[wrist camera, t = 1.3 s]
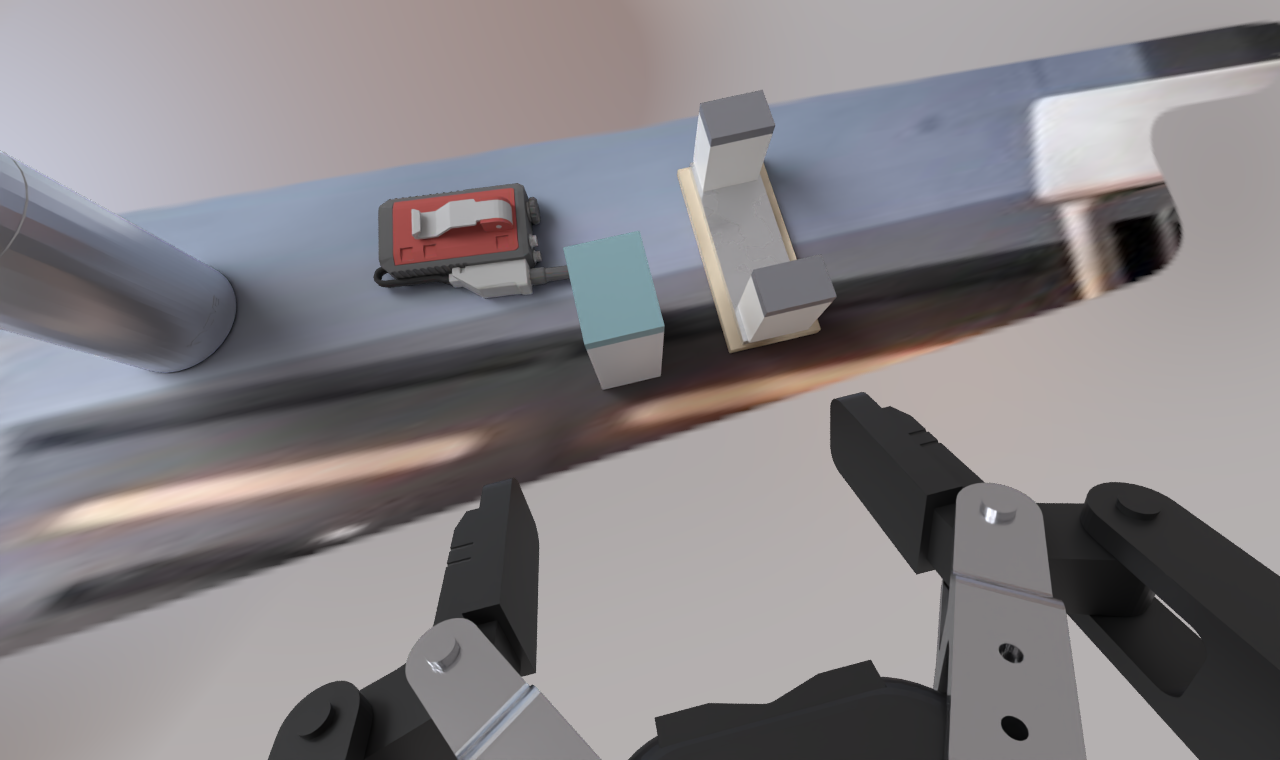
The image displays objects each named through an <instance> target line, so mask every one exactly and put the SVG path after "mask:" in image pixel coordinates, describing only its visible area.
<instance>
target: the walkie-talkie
mask: <svg viewBox="0 0 1280 760" xmlns="http://www.w3.org/2000/svg"><path fill="white" fill-rule="evenodd" d="M378 222H379V262H380V266H381V267H380V268H378V269H377V270H376V271H375V274H374V281H375V282H376V283H377V284H378V285H379V286H381V287H387V288H391V287H399V286H407V285H415V284H423V283H431V282H443V283H446V284H452V285H453V287H454V288H456V287H464V288H466V289H468V290H470V291H472V292H474V293H475V294H477V295H479V296H481V297H483V298H491V297H499V296H507V295H515V294H523V295H530V294H533V288H532V285H539V284H546V283H547V282H548V281H556V280H564V279H570V277H569V272H568V267H567V266H559V267H551V268H545V267H539V268H533V267H535V264H537V262H540V261H542V257H541V253H540V251H535V250H534V247H535V246H538V240H537V237H536V235H535V236H533V232H532V223H533V224H534V225H537V224H539V223H540V212H539V207H538V203H537V200H536V198H534V197H531V198H529V199H528V196H527V194H526V191H525V189H524V186H523V185H521V184H518V183H516V184H507V185H499V186H491V187H483V188H475V189H467V190H463V191H456V192H452V191H451V192H449V193H445V192H443V193H441V194H438V193H436V194H433V195H432V194H429V195H422V196H415V197H408V198H404V197H403V198H401V199H397V198H395V199H393V200H391V199H389V200H388V201H386V202H385V203H383V204H382V205H381V206H380V207H379V211H378ZM386 273H389V274H390V275H391V276H392V277H393V278H394V279H396V280H389V281H383V280H381V279H382V276H383V275H384V274H386Z"/></svg>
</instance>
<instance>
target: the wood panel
mask: <svg viewBox="0 0 1280 760" xmlns="http://www.w3.org/2000/svg"><path fill="white" fill-rule="evenodd" d="M760 175H761V178H762V181H763V184H764V187H765V190H766V193H767V196H768V199H769V202H770V205H771V207H772V210H773V213H774V216H775V219H776V222H777V225H778V228H779V231H780V234H781V237H782V240H783V243H784V246H785V249H786V252H787V255H788V258H789V260H790V261H793V260H797V259H796V256H795V253H794V250H793V247H792V244H791V241H790V238H789V235H788V232H787V230H786V227H785V224H784V221H783V218H782V215H781V212H780V209H779V206H778V203H777V200H776V198H775V195H774V192H773V189H772V186H771V183H770V180H769V177H768V174H767V171H766V168H765V166H764V163H763V164H762V168H761V171H760ZM677 177H678V180H679V183H680V187H681V190H682V194H683V197H684V201H685V204H686V207H687V211H688V214H689V218H690V221H691V224H692V228H693V231H694V235H695V238H696V241H697V245H698V248H699V252H700V255H701V259H702V262H703V265H704V269H705V272H706V276H707V279H708V282H709V286H710V289H711V293H712V296H713V299H714V303H715V306H716V310H717V313H718V317H719V320H720V323H721V327H722V330H723V334H724V337H725V340H726V344H727V347H728V351H729V353H733V352H738V351H742V350H746V349H750V348H755V347H759V346H763V345H768V344H772V343H776V342H780V341H785V340H789V339H793V338H797V337H802V336H806V335H810V334H815V333H818V332H819V331H820V330H821V328H820V325H819V323H818V320H816V321H815V322H814V323H813V324H812V326H811V327H810V328H809V330H804V331H800V332H796V333H791V334H787V335H783V336H779V337H774V338H770V339H766V340H761V341H757V342H753V343H749V344H744V345H742V344H741V341H740V337H739V334H738V331H737V327H736V324H735V321H734V318H733V314H732V311H731V308H730V304H729V301H728V298H727V294H726V291H725V288H724V284H723V281H722V278H721V274H720V271H719V268H718V264H717V261H716V258H715V254H714V251H713V248H712V244H711V241H710V238H709V234H708V231H707V228H706V224H705V221H704V218H703V214H702V211H701V208H700V204H699V201H698V198H697V195H696V191H695V188H694V185H693V181H692V178H691V175H690V171H689V168H684V169H679V170H678V173H677Z"/></svg>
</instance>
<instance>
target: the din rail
mask: <svg viewBox="0 0 1280 760" xmlns="http://www.w3.org/2000/svg"><path fill="white" fill-rule="evenodd" d="M689 171H690V175H691V178H692V181H693V185H694V188H695V191H696V195H697V198H698V201H699V204H700V208H701V211H702V214H703V218H704V221H705V224H706V228H707V231H708V234H709V238H710V241H711V244H712V248H713V251H714V254H715V258H716V261H717V264H718V268H719V271H720V274H721V278H722V281H723V284H724V288H725V291H726V294H727V298H728V301H729V304H730V308H731V311H732V314H733V318H734V321H735V324H736V327H737V331H738V334H739V337H740V341H741V344H742V345H744V344H749V341H748V338H747V335H746V332H745V328H744V325H743V322H742V318H741V315H740V312H739V309H738V304H739V302H740V300H741V297H742V295H743V293H744V290H745V288H746V286H747V283H748V281H749V279H750V276H751V274H752V272H753V270H754V269H758V268H763V267H767V266H771V265H776V264H780V263H785V262H789V261H790V260H789V258H788V255H787V252H786V249H785V246H784V243H783V240H782V237H781V234H780V231H779V228H778V225H777V222H776V219H775V216H774V213H773V210H772V207H771V205H770V202H769V199H768V196H767V193H766V190H765V187H764V184H763V181H762V178H761V175H760V174H759V177H758V180H754V181H750V182H745V183H741V184H736V185H732V186H727V187H723V188H718V189H714V190H709V191H705V192H703V190H702V187H701V184H700V181H699V177H698V174H697V171H696V167H695V164H694V162H693V163H690V165H689ZM811 326H812V325H811ZM808 330H809V329H808ZM803 331H804V330H803ZM799 332H800V331H799ZM795 333H796V332H795ZM790 334H791V333H790ZM786 335H787V334H786ZM782 336H783V335H782ZM778 337H779V336H778ZM773 338H774V337H773ZM769 339H770V338H769ZM765 340H766V339H765ZM760 341H761V340H760ZM756 342H757V341H756ZM752 343H753V342H752Z"/></svg>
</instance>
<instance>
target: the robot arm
mask: <svg viewBox="0 0 1280 760" xmlns="http://www.w3.org/2000/svg"><path fill="white" fill-rule="evenodd" d="M235 313H236V297H235V294H234V291H233V288H232V286H231V284H230V283H229V281H228V280H227V278H226V277H224V276H223V275H222V274H221V273H220V272H219V271H217V270H215V269H213V268H212V267H210V266H208V265H206V264H204V263H203V262H201V261H199V260H197V259H196V258H194V257H192V256H190V255H188V254H187V253H185V252H183V251H181V250H179V249H178V248H176V247H174V246H173V245H171V244H169V243H167V242H166V241H164V240H162V239H160V238H158V237H156V236H155V235H153V234H151V233H149V232H147V231H146V230H144V229H142V228H140V227H138V226H137V225H135V224H133V223H131V222H129V221H128V220H126V219H124V218H122V217H120V216H118V215H117V214H115V213H113V212H111V211H109V210H107V209H106V208H104V207H102V206H100V205H99V204H97V203H95V202H93V201H91V200H89V199H88V198H86V197H84V196H82V195H80V194H79V193H77V192H75V191H73V190H71V189H70V188H68V187H66V186H64V185H62V184H61V183H59V182H57V181H55V180H53V179H51V178H50V177H48V176H46V175H44V174H42V173H40V172H39V171H37V170H35V169H33V168H32V167H30V166H28V165H26V164H24V163H23V162H21V161H19V160H17V159H15V158H13V157H12V156H10V155H8V154H6V153H4V152H2V151H0V329H2V330H6V331H9V332H13V333H16V334H20V335H24V336H27V337H31V338H34V339H38V340H42V341H45V342H49V343H52V344H56V345H60V346H63V347H67V348H70V349H74V350H78V351H81V352H85V353H88V354H92V355H95V356H99V357H102V358H106V359H109V360H113V361H117V362H120V363H124V364H128V365H131V366H135V367H139V368H142V369H146V370H149V371H153V372H163V373H167V372H176V371H180V370H184V369H187V368H190V367H192V366H194V365H196V364H198V363H200V362H202V361H203V360H205V359H206V358H207V357H208V356H210V355H211V354H212V353H214V352H215V350H216V349H217V348H218V347H219V346H220V345H221V344H222V343H223V341H224V340H225V338H226V337H227V335H228V334H229V332H230V329H231V327H232V324H233V322H234V318H235ZM830 407H831V408H830V416H831V417H830V447H831V448H830V449H831V454H832V458H833V461H834V464H835V466H836V468H837V470H838V471H839V473H840V474H841V475H842V476H843V478H844V479H845V481H846V482H847V483H848V485H849V486H850V487H851V488H852V490H853V491H854V492H855V494H856V495H857V496H858V498H859V499H860V500H861V502H862V503H863V504H864V506H865V507H866V508H867V510H868V511H869V512H870V514H871V515H872V516H873V518H874V519H875V520H876V521H877V523H878V524H879V525H880V527H881V528H882V530H883V531H884V532H885V534H886V535H887V536H888V537H889V539H890V540H891V541H892V543H893V544H894V545H895V547H896V548H897V549H898V551H899V552H900V553H901V555H902V556H903V557H904V559H905V560H906V561H907V563H908V564H909V565H910V567H911V568H912V569H913V570H914V572H915V573H916V574H920V573H924V572H928V571H932V570H936V571H937V572H938V574H939V575H940V576H941V577H942V579H943V580H942V585H941V597H940V612H939V627H938V642H937V658H936V669H935V677H934V685H933V689H932V688H929V687H926V686H924V685H921V684H918V683H914V682H911V681H907V680H903V679H897V678H889V677H880V675H879V673H878V672H877V670H876V668H875V666H874V665H873V663H872V661H871V660H868V661H864V662H860V663H857V664H853V665H849V666H846V667H842V668H838V669H834V670H830V671H827V672H823V673H820V674H817V675H815V676H814V677H812V678H811V679H809V680H808V681H806V682H804V683H803V684H801V685H799V686H798V687H796V688H794V689H793V690H791V691H790V692H788V693H786V694H785V695H783V696H782V697H780V698H778V699H777V700H775V701H773V702H771V703H768V704H723V703H708V704H704V705H700V706H696V707H693V708H689V709H685V710H681V711H678V712H674V713H670V714H667V715H663V716H659V717H655V722H656V728H657V734H658V736H656V737H655V738H653V739H652V740H650V741H648V742H647V743H646V744H645V745H643V746H642V747H641V748H640V749H638V750H637V751H636V752H635V753H634V754H633V755H632V757H630V758H629V759H628V760H1087V759H1086V752H1085V745H1084V738H1083V730H1082V724H1081V716H1080V709H1079V702H1078V695H1077V687H1076V680H1075V674H1074V666H1073V659H1072V651H1071V645H1070V637H1069V630H1068V623H1067V616H1066V614H1068V615H1069V616H1070V617H1071V619H1072V620H1073V621H1074V622H1075V623H1076V624H1077V625H1078V626H1079V627H1080V629H1081V630H1082V631H1083V632H1084V633H1085V634H1086V635H1087V636H1088V637H1089V638H1090V640H1091V641H1092V642H1093V643H1094V644H1095V645H1096V646H1097V647H1098V648H1099V650H1101V652H1102V653H1103V654H1104V655H1105V656H1106V657H1107V658H1108V659H1109V661H1110V662H1111V663H1112V664H1113V665H1114V666H1115V667H1116V668H1117V669H1118V671H1119V672H1120V673H1121V674H1122V675H1123V676H1124V677H1125V678H1126V679H1127V680H1128V681H1129V683H1130V684H1131V685H1132V686H1133V687H1134V688H1135V689H1136V690H1137V692H1138V693H1139V694H1140V695H1141V696H1142V697H1143V698H1144V699H1145V700H1146V701H1147V703H1148V704H1149V705H1150V706H1151V707H1152V708H1153V709H1154V710H1155V711H1156V712H1157V714H1158V715H1159V716H1160V717H1161V718H1162V719H1163V720H1164V721H1165V722H1166V724H1167V725H1168V726H1169V727H1170V728H1171V729H1172V730H1173V731H1174V732H1175V733H1176V735H1177V736H1178V737H1179V738H1180V739H1181V740H1182V741H1183V742H1184V743H1185V745H1186V746H1187V747H1188V748H1189V749H1190V750H1191V751H1192V752H1193V753H1194V755H1195V756H1196V757H1197V758H1198V759H1199V760H1280V576H1278V575H1277V574H1276V573H1274V572H1273V571H1271V570H1270V569H1269V568H1267V567H1266V566H1264V565H1263V564H1262V563H1260V562H1259V561H1257V560H1256V559H1255V558H1253V557H1252V556H1250V555H1249V554H1248V553H1246V552H1245V551H1243V550H1242V549H1241V548H1239V547H1238V546H1236V545H1235V544H1234V543H1232V542H1231V541H1229V540H1228V539H1226V538H1225V537H1224V536H1222V535H1221V534H1220V533H1218V532H1217V531H1215V530H1214V529H1212V528H1211V527H1210V526H1208V525H1207V524H1205V523H1204V522H1203V521H1201V520H1200V519H1198V518H1197V517H1196V516H1194V515H1193V514H1191V513H1190V512H1189V511H1187V510H1186V509H1184V508H1183V507H1182V506H1180V505H1179V504H1177V503H1176V502H1175V501H1173V500H1171V499H1170V498H1168V497H1167V496H1165V495H1163V494H1161V493H1159V492H1156V491H1154V490H1152V489H1149V488H1146V487H1143V486H1139V485H1135V484H1129V483H1120V482H1119V483H1118V482H1109V483H1103V484H1100V485H1097V486H1095V487H1093V488H1092V489H1091V490H1090V491H1089V492H1088V494H1087V497H1086V500H1085V503H1084V504H1071V503H1070V504H1068V503H1065V504H1063V503H1056V504H1055V503H1035V502H1034V501H1033V500H1032V499H1031V498H1030V497H1028V496H1027V495H1026V494H1024V493H1022V492H1020V491H1018V490H1016V489H1014V488H1011V487H1008V486H1005V485H1001V484H995V483H985V482H983V481H982V480H981V479H980V478H979V477H978V476H977V475H976V474H975V473H974V472H972V471H971V470H970V469H969V468H968V467H967V466H966V465H965V464H964V463H962V462H961V461H960V460H959V459H958V458H957V457H956V456H955V455H954V454H953V453H951V452H950V451H949V450H948V449H947V448H946V447H945V446H944V445H943V444H942V443H938V440H937V439H936V438H935V437H934V436H933V435H932V434H930V433H929V432H926V430H925V428H924V427H923V426H921V425H920V424H919V423H918V422H917V421H916V420H915V419H914V418H913V417H912V416H910V415H908V414H906V413H904V412H901V411H899V410H897V409H895V408H893V407H891V406H889V407H886V408H881V407H880V406H879V405H878V404H877V403H876V402H875V401H874V400H873V399H872V398H870V396H869V395H867V394H866V393H864V392H860V393H857V394H852V395H848V396H844V397H841V398H837V399H833V400H832V402H831V406H830ZM447 564H448V567H446V570H445V575H444V580H443V584H442V589H441V593H440V598H439V602H438V607H437V612H436V616H435V621H434V625H433V627H432V628H431V629H430V630H428V631H427V632H426V633H425V634H424V635H422V636H421V638H420V639H419V640H418V641H417V642H416V644H415V645H414V646H413V648H412V650H411V652H410V654H409V656H408V659H407V662H406V663H405V664H404V665H403V666H401V667H400V668H398V669H397V670H395V671H393V672H391V673H390V674H388V675H386V676H384V677H383V678H381V679H379V680H377V681H376V682H374V683H372V684H370V685H368V686H367V687H365V688H363V689H361V690H360V691H359V690H358V689H357V688H356V687H355V686H354V685H353V684H352V683H349V682H347V681H335V682H331V683H328V684H326V685H324V686H321V687H320V688H318V689H316V690H315V691H313V692H311V693H310V694H309V695H307V696H306V697H305V698H304V699H302V700H301V701H300V702H299V703H298V704H297V705H296V706H295V708H294V709H293V710H292V711H291V712H290V713H289V715H288V716H287V717H286V719H285V720H284V722H283V724H282V726H281V727H280V730H279V732H278V734H277V736H276V739H275V742H274V744H273V747H272V750H271V752H270V755H269V758H268V760H601V759H600V758H599V756H598V755H597V754H596V753H595V752H594V751H593V750H592V749H591V747H590V746H589V745H588V744H587V743H586V742H585V741H584V740H583V738H582V737H581V736H580V735H579V734H578V733H577V732H576V731H575V730H574V729H573V727H572V726H571V725H570V724H569V723H568V722H567V721H566V719H565V718H564V717H563V716H562V715H561V714H560V713H559V712H558V710H557V709H556V708H555V707H554V706H553V705H552V704H551V703H550V701H549V700H548V699H547V698H546V697H545V696H544V695H543V694H542V693H541V692H540V691H539V690H538V689H537V688H536V687H535V686H534V685H531V686H529V685H528V684H527V683H526V682H525V681H524V680H523V678H522V676H526V675H530V674H534V673H536V650H537V609H538V572H539V539H538V533H537V528H536V524H535V521H534V519H533V516H532V514H531V512H530V509H529V507H528V505H527V502H526V500H525V497H524V495H523V493H522V490H521V488H520V485H519V483H518V481H517V480H516V479H515V478H512V479H508V480H504V481H500V482H496V483H492V484H488V485H484V487H483V490H482V495H481V501H480V507H479V508H478V509H474V510H470V511H466V513H465V514H464V516H463V518H462V519H461V520H460V522H459V524H458V525H457V527H456V528H455V530H454V534H453V538H452V543H451V551H450V552H449V557H448V561H447ZM1155 594H1156V595H1157V596H1158V597H1159V598H1161V599H1162V600H1163V601H1164V602H1165V603H1166V604H1167V605H1168V606H1169V607H1171V608H1172V609H1173V610H1174V611H1175V612H1176V613H1177V614H1178V615H1180V616H1181V617H1182V618H1183V619H1184V620H1185V621H1186V622H1187V623H1188V624H1190V625H1191V626H1192V627H1193V628H1194V629H1195V630H1196V632H1197V633H1198V634H1199V636H1200V637H1201V638H1199V637H1198V636H1197V635H1196V634H1195V633H1194V632H1193V631H1192V630H1191V629H1189V628H1188V627H1187V626H1186V625H1185V624H1184V623H1183V622H1182V621H1181V620H1180V619H1178V618H1177V617H1176V616H1175V615H1174V614H1173V613H1172V612H1171V611H1169V609H1167V608H1166V607H1165V606H1164V605H1163V604H1162V603H1161V602H1160V601H1159V600H1158V599H1156V598H1155V597H1154V596H1155Z"/></svg>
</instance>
